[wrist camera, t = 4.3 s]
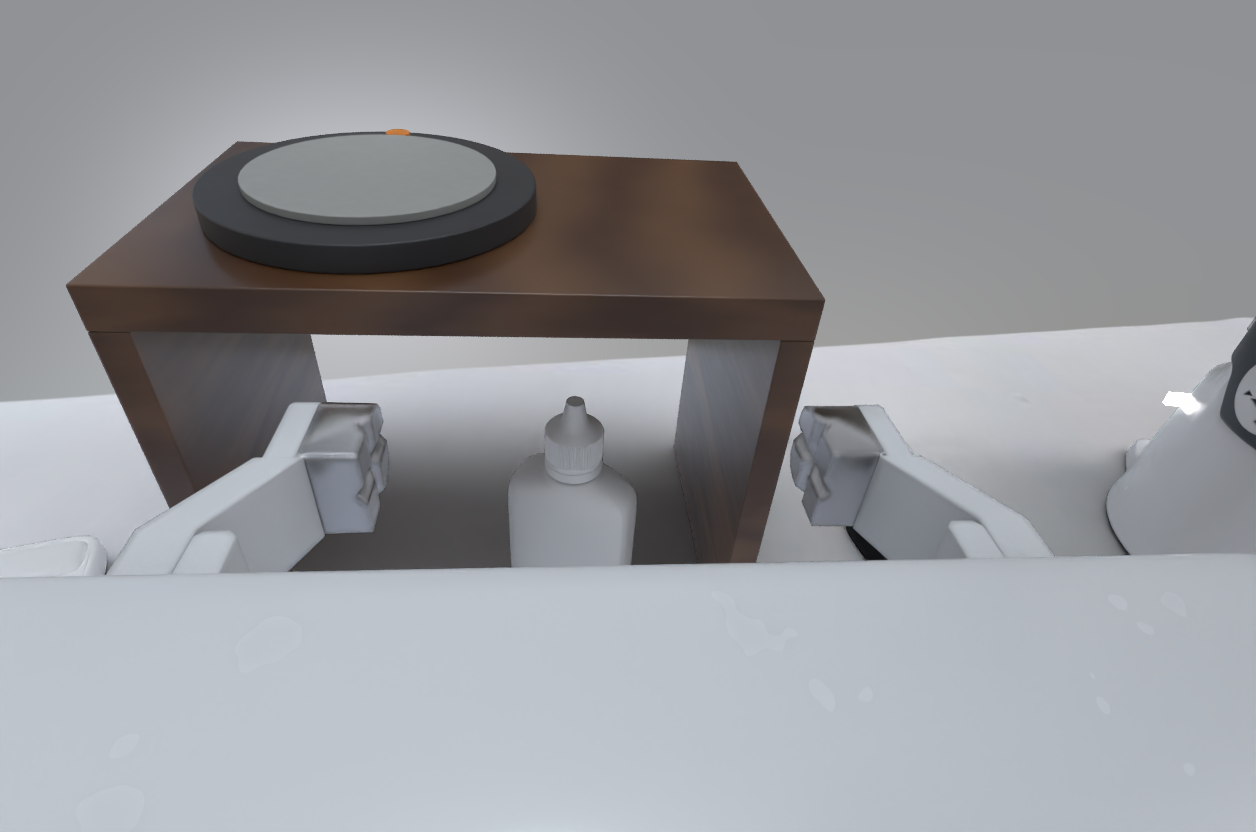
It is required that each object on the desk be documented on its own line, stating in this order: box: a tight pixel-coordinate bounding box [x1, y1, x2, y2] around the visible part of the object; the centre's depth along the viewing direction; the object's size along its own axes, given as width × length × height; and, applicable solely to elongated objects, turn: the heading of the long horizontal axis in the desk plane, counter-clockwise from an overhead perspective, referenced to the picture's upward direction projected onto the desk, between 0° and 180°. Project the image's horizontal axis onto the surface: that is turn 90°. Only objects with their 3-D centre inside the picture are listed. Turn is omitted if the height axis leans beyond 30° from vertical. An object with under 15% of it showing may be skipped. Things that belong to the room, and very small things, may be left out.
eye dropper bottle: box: [508, 396, 637, 568], centre depth 31 cm, size 4×6×12 cm
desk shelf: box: [66, 141, 825, 572], centre depth 33 cm, size 23×14×18 cm, turn 95°
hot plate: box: [192, 129, 537, 274], centre depth 26 cm, size 12×12×1 cm
